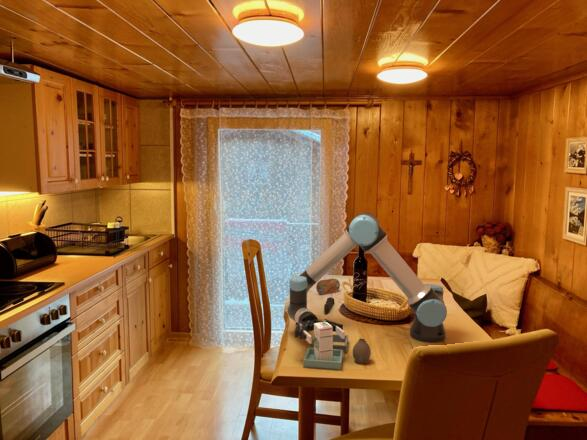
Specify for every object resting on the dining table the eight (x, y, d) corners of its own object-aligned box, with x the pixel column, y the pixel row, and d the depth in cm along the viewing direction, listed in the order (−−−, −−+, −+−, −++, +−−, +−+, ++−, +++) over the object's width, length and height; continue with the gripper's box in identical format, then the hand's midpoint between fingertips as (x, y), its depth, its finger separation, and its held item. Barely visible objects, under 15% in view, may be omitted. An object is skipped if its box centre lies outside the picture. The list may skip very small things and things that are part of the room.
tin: (318, 295, 273) (318, 281, 272) (315, 294, 275) (315, 280, 274) (340, 292, 280) (340, 278, 279) (337, 290, 283) (337, 276, 282)
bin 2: (343, 357, 189) (343, 349, 189) (340, 370, 177) (340, 362, 177) (307, 354, 192) (307, 347, 191) (303, 367, 180) (303, 359, 179)
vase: (354, 356, 190) (354, 335, 188) (371, 358, 188) (372, 337, 186) (351, 363, 183) (351, 341, 182) (369, 366, 181) (369, 343, 180)
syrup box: (333, 362, 183) (333, 326, 181) (318, 364, 181) (319, 327, 179) (327, 356, 188) (327, 321, 186) (313, 358, 186) (313, 322, 184)
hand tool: (327, 303, 258) (327, 295, 258) (334, 304, 257) (334, 296, 257) (320, 315, 240) (320, 306, 240) (327, 315, 239) (328, 306, 239)
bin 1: (348, 342, 205) (348, 335, 204) (346, 353, 193) (346, 346, 192) (315, 339, 207) (315, 333, 207) (311, 350, 195) (311, 343, 195)
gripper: (333, 324, 205) (357, 342, 185) (278, 332, 196) (296, 351, 176) (333, 307, 204) (357, 324, 184) (278, 314, 195) (296, 332, 175)
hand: (327, 337), depth 180 cm, fingers open, 13 cm apart
